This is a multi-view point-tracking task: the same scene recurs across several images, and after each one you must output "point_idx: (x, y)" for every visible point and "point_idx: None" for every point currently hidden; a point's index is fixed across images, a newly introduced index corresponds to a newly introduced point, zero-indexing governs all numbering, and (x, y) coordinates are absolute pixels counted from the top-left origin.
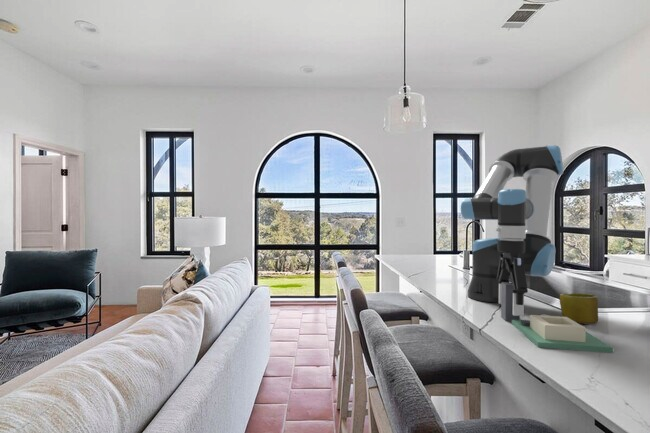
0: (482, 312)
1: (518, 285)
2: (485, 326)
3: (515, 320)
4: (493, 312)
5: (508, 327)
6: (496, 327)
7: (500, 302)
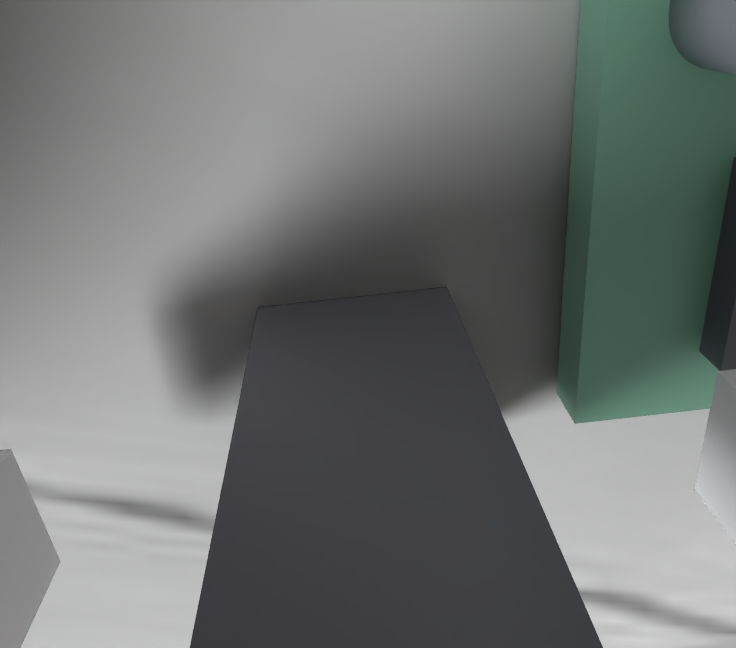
0: (156, 603)
1: None
2: (682, 610)
3: (604, 390)
4: (88, 507)
5: (698, 444)
6: (706, 539)
7: (43, 569)
